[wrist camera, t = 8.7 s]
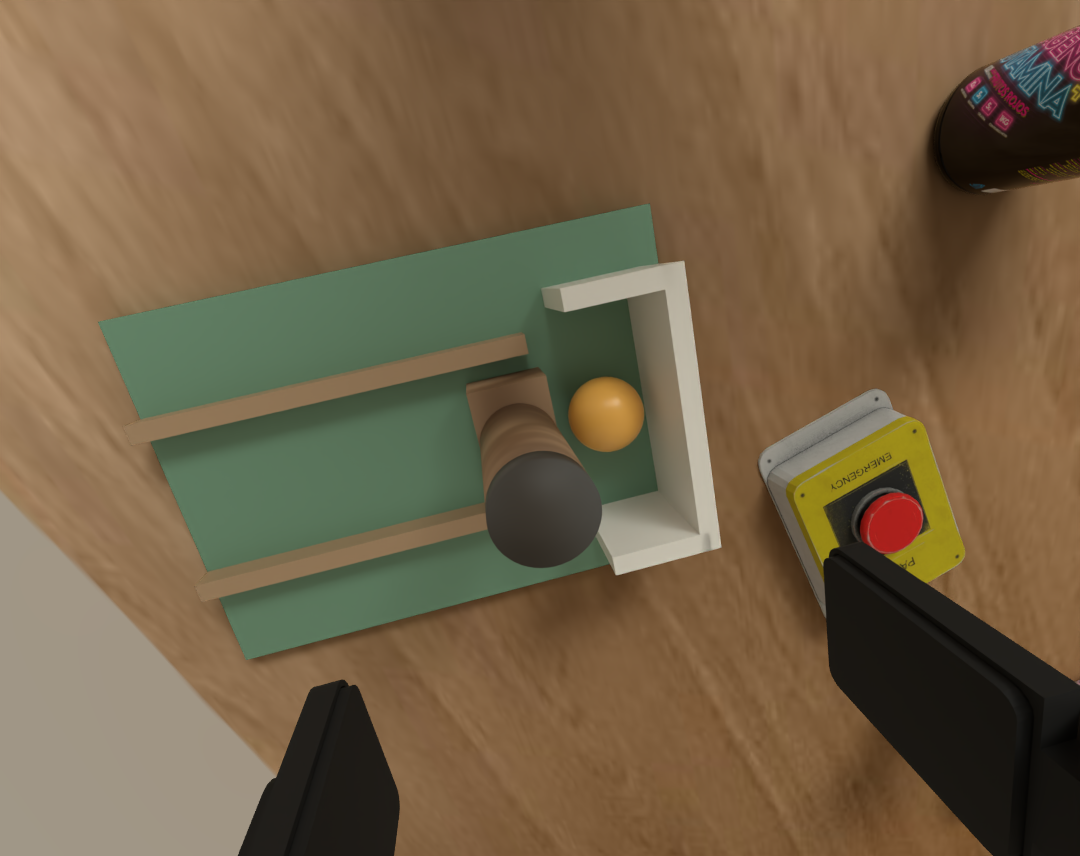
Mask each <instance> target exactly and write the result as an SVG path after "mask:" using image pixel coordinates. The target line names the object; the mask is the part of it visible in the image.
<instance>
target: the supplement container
mask: <svg viewBox="0 0 1080 856" xmlns="http://www.w3.org/2000/svg"><path fill="white" fill-rule="evenodd" d="M934 154H935V159H936V162H937V165H938V167H939V169H940V172H941V173H942V175H943V176H944V178H945V179H946V180H947V181H948V182H949V183H950V184H951V185H953V186H954V187H955V188H957V189H959V190H961V191H964V192H967V193H971V194H976V195H985V194H991V193H997V192H1003V191H1008V190H1014V189H1019V188H1025V187H1031V186H1036V185H1042V184H1047V183H1053V182H1058V181H1064V180H1070V179H1075V178H1080V25H1079V26H1077V27H1074V28H1072V29H1070V30H1067V31H1065V32H1063V33H1060V34H1058V35H1056V36H1053V37H1051V38H1049V39H1046V40H1044V41H1042V42H1039V43H1037V44H1035V45H1032V46H1030V47H1028V48H1025V49H1023V50H1021V51H1018V52H1016V53H1014V54H1011V55H1009V56H1006V57H1004V58H1002V59H999V60H997V61H995V62H992V63H990V64H988V65H985V66H983V67H981V68H979V69H977V70H975V71H974V72H972V73H971V74H970V75H968V76H967V77H966V78H965V79H964V80H963V81H962V82H961V83H960V84H959V85H958V86H957V87H956V88H955V89H954V90H953V92H952V93H951V94H950V96H949V97H948V99H947V100H946V102H945V104H944V105H943V107H942V110H941V112H940V114H939V117H938V120H937V123H936V127H935V132H934Z"/></svg>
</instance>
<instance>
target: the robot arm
mask: <svg viewBox="0 0 1080 856" xmlns="http://www.w3.org/2000/svg"><path fill="white" fill-rule="evenodd" d="M823 572H824V589H825V605H826V622H827V639H828V655H829V668H830V672H831V675H832V677H833V679H834V681H835V682H836V684H837V685H838V687H839V688H840V689H841V690H842V691H843V692H844V693H845V694H846V695H847V697H848V698H849V699H850V700H851V701H852V702H853V703H854V704H855V705H856V706H857V708H858V709H859V710H860V711H861V712H862V713H863V714H864V715H865V716H866V717H867V719H868V720H869V721H870V722H871V723H872V724H873V725H874V726H875V727H876V728H877V730H878V731H879V732H880V733H881V734H882V735H883V736H884V737H885V738H886V739H887V741H888V742H889V743H890V744H891V745H892V746H893V747H894V748H895V749H896V750H897V752H898V753H899V754H900V755H901V756H902V757H903V758H904V759H905V760H906V761H907V762H908V764H909V765H910V766H911V767H912V768H913V769H914V770H915V771H916V772H917V773H918V775H919V776H920V777H921V778H922V779H923V780H924V781H925V782H926V783H927V784H928V786H929V787H930V788H931V789H932V790H933V791H934V792H935V793H936V794H937V795H938V797H939V798H940V799H941V800H942V801H943V802H944V803H945V804H946V805H947V806H948V808H949V809H950V810H951V811H952V812H953V813H954V814H955V815H956V816H957V817H958V819H959V820H960V821H961V822H962V823H963V824H964V825H965V826H966V827H967V828H968V829H969V831H970V832H971V833H972V834H973V835H974V836H975V837H976V838H977V839H978V840H979V842H980V843H981V844H982V845H983V846H984V847H985V848H986V849H987V850H988V851H989V852H990V853H991V854H992V855H993V856H1080V685H1078V684H1077V683H1075V682H1074V681H1072V680H1071V679H1069V678H1068V677H1066V676H1065V675H1063V674H1062V673H1060V672H1059V671H1057V670H1056V669H1054V668H1053V667H1051V666H1050V665H1048V664H1047V663H1045V662H1044V661H1042V660H1041V659H1039V658H1038V657H1036V656H1035V655H1033V654H1032V653H1030V652H1029V651H1027V650H1026V649H1024V648H1023V647H1021V646H1020V645H1018V644H1017V643H1015V642H1014V641H1012V640H1011V639H1009V638H1008V637H1006V636H1005V635H1003V634H1002V633H1000V632H999V631H997V630H996V629H994V628H993V627H991V626H989V625H988V624H986V623H985V622H983V621H982V620H980V619H979V618H977V617H976V616H974V615H973V614H971V613H970V612H968V611H967V610H965V609H964V608H962V607H961V606H959V605H958V604H956V603H955V602H953V601H952V600H950V599H949V598H947V597H946V596H944V595H943V594H941V593H940V592H938V591H937V590H935V589H934V588H932V587H931V586H929V585H928V584H926V583H925V582H923V581H922V580H920V579H919V578H917V577H916V576H914V575H913V574H911V573H910V572H908V571H907V570H905V569H904V568H902V567H901V566H899V565H898V564H896V563H895V562H893V561H892V560H890V559H889V558H887V557H886V556H884V555H883V554H881V553H880V552H878V551H876V550H875V549H873V548H872V547H870V546H869V545H867V544H866V543H863V542H856V543H852V544H848V545H844V546H841V547H837V548H833V549H832V550H830V553H829V558H826V559H825V560H824V562H823ZM399 810H400V803H399V795H398V790H397V787H396V784H395V782H394V779H393V777H392V774H391V771H390V769H389V766H388V764H387V761H386V758H385V756H384V753H383V750H382V748H381V745H380V743H379V740H378V737H377V735H376V732H375V730H374V727H373V724H372V722H371V719H370V717H369V714H368V711H367V709H366V706H365V703H364V701H363V698H362V696H361V693H360V691H359V688H358V687H357V686H356V685H352V686H349V685H348V683H347V682H346V681H345V680H339V681H335V682H331V683H328V684H324V685H320V686H317V687H313V688H312V689H311V690H310V692H309V694H308V696H307V699H306V701H305V704H304V706H303V709H302V712H301V714H300V717H299V720H298V722H297V725H296V727H295V730H294V733H293V735H292V738H291V740H290V743H289V746H288V748H287V751H286V754H285V756H284V759H283V761H282V764H281V767H280V769H279V772H278V774H277V777H276V778H274V779H272V780H271V781H270V782H269V783H268V784H267V786H266V788H265V790H264V792H263V794H262V796H261V799H260V801H259V804H258V806H257V809H256V811H255V814H254V816H253V819H252V821H251V824H250V826H249V829H248V831H247V834H246V836H245V839H244V841H243V844H242V846H241V849H240V851H239V854H238V856H394V851H395V844H396V836H397V828H398V820H399Z"/></svg>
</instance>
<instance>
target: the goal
mask: <svg viewBox="0 0 1080 856" xmlns="http://www.w3.org/2000/svg"><path fill="white" fill-rule="evenodd" d="M541 291H542V296H543V301H544V306H545V308H549V309H553V310H557V311H561V312H568V311H573V310H577V309H581V308H586V307H590V306H595V305H599V304H603V303H608V302H612V301H617V300H621V299H625V298H627V301H628V307H629V313H630V320H631V326H632V332H633V338H634V344H635V350H636V357H637V363H638V369H639V375H640V381H641V388H642V394H643V400H644V406H645V412H646V419H647V425H648V431H649V437H650V443H651V449H652V456H653V462H654V468H655V474H656V480H657V487H658V491H655V492H651V493H647V494H643V495H639V496H635V497H631V498H627V499H623V500H619V501H615V502H611V503H608V504H604V505H602V518H601V523H600V527H599V530H598V532H597V534H596V538H597V540H598V542H599V544H600V546H601V548H602V550H603V551H604V553H605V555H606V557H607V559H608V561H609V563H610V565H611V567H612V569H613V571H614V573H615V575H620V574H624V573H627V572H631V571H635V570H639V569H642V568H646V567H650V566H654V565H658V564H661V563H665V562H669V561H673V560H676V559H680V558H684V557H688V556H691V555H695V554H699V553H703V552H706V551H710V550H714V549H718V548H721V541H720V533H719V525H718V518H717V510H716V502H715V494H714V487H713V479H712V471H711V464H710V456H709V448H708V441H707V433H706V425H705V417H704V410H703V402H702V394H701V387H700V379H699V371H698V364H697V356H696V348H695V340H694V333H693V325H692V317H691V310H690V302H689V294H688V286H687V279H686V271H685V263H684V261H678V262H670V263H662V264H654V265H646V266H639V267H635V268H630V269H626V270H621V271H617V272H612V273H608V274H603V275H599V276H594V277H590V278H585V279H581V280H576V281H572V282H568V283H563V284H559V285H554V286H550V287H545V288H541Z"/></svg>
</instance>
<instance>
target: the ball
mask: <svg viewBox="0 0 1080 856" xmlns="http://www.w3.org/2000/svg"><path fill="white" fill-rule="evenodd" d="M568 419H569V424H570V427H571V430H572V432H573V434H574V435H575V437H576V438H577V439H578V440H579V441H580V442H581V443H582V444H583V445H585V446H586V447H588V448H590V449H593V450H596V451H600V452H612V451H616V450H620V449H622V448H624V447H626V446H627V445H629V444H630V443H631V442H632V441H633V440H634V439H635V438H636V437H637V435H638V434H639V432H640V430H641V428H642V425H643V421H644V407H643V403H642V400H641V398H640V396H639V394H638V393H637V392H636V390H635V389H634V388H633V387H632V386H631V385H630V384H628V383H627V382H625V381H623V380H621V379H618V378H614V377H599V378H594V379H592V380H590V381H588V382H586V383H584V384H583V385H582V386H581V387H580V388H579V389H578V390H577V391H576V392H575V394H574V395H573V397H572V399H571V402H570V405H569V410H568Z"/></svg>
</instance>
